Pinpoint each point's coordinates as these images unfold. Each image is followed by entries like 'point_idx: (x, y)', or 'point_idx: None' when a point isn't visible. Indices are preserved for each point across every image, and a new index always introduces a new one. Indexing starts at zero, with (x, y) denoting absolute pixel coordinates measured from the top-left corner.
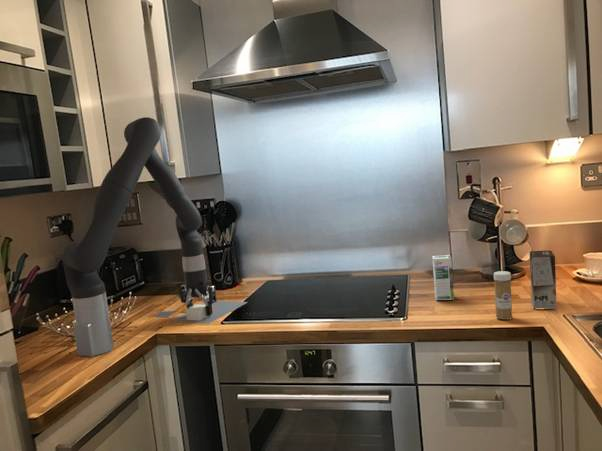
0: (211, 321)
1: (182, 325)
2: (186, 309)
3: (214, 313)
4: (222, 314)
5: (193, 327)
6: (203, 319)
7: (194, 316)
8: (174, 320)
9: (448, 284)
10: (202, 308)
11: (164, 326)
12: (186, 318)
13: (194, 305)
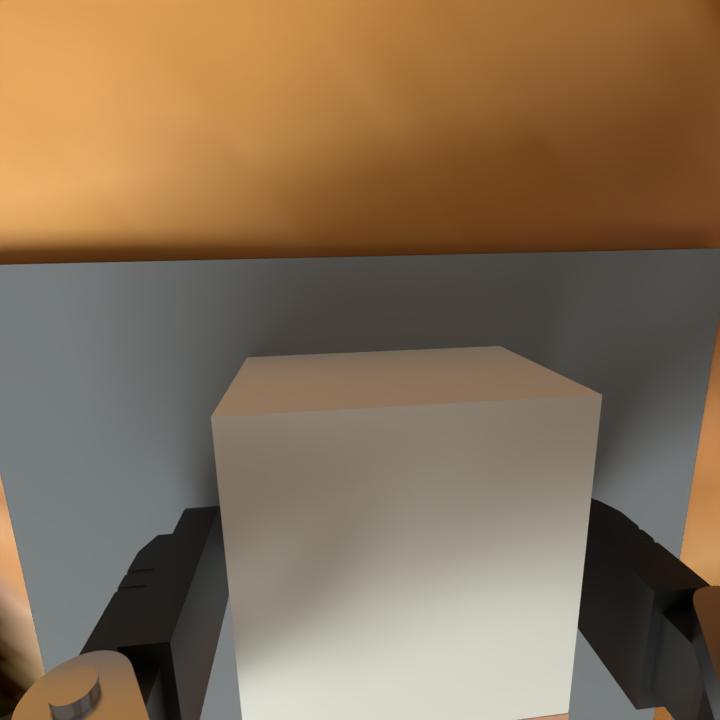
0: (1, 368)
1: (434, 154)
2: (574, 399)
3: None
4: None
5: (164, 98)
6: None
7: (349, 369)
8: (677, 272)
9: None
10: (225, 556)
11: (706, 48)
12: None
13: (560, 657)
